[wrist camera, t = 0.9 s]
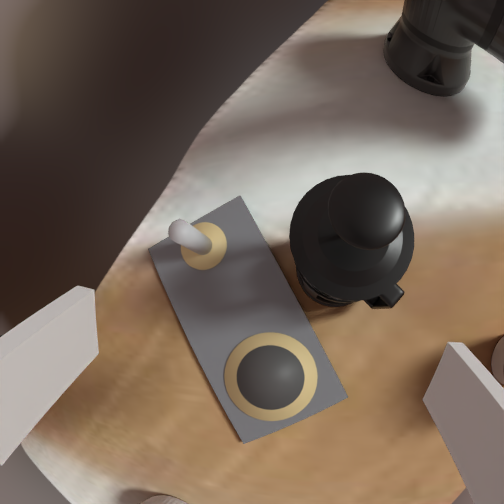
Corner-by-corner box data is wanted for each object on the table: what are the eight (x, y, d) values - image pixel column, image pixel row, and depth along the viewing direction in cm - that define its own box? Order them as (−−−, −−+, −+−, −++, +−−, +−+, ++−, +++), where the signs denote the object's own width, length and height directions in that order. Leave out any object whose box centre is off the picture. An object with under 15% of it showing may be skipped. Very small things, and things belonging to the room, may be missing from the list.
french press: (276, 264, 39) (230, 203, 17) (329, 209, 39) (345, 94, 17) (346, 333, 36) (396, 364, 14) (398, 275, 36) (497, 229, 14)
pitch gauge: (241, 197, 41) (224, 169, 33) (347, 395, 35) (357, 418, 26) (150, 250, 42) (115, 235, 34) (244, 441, 36) (228, 471, 27)
